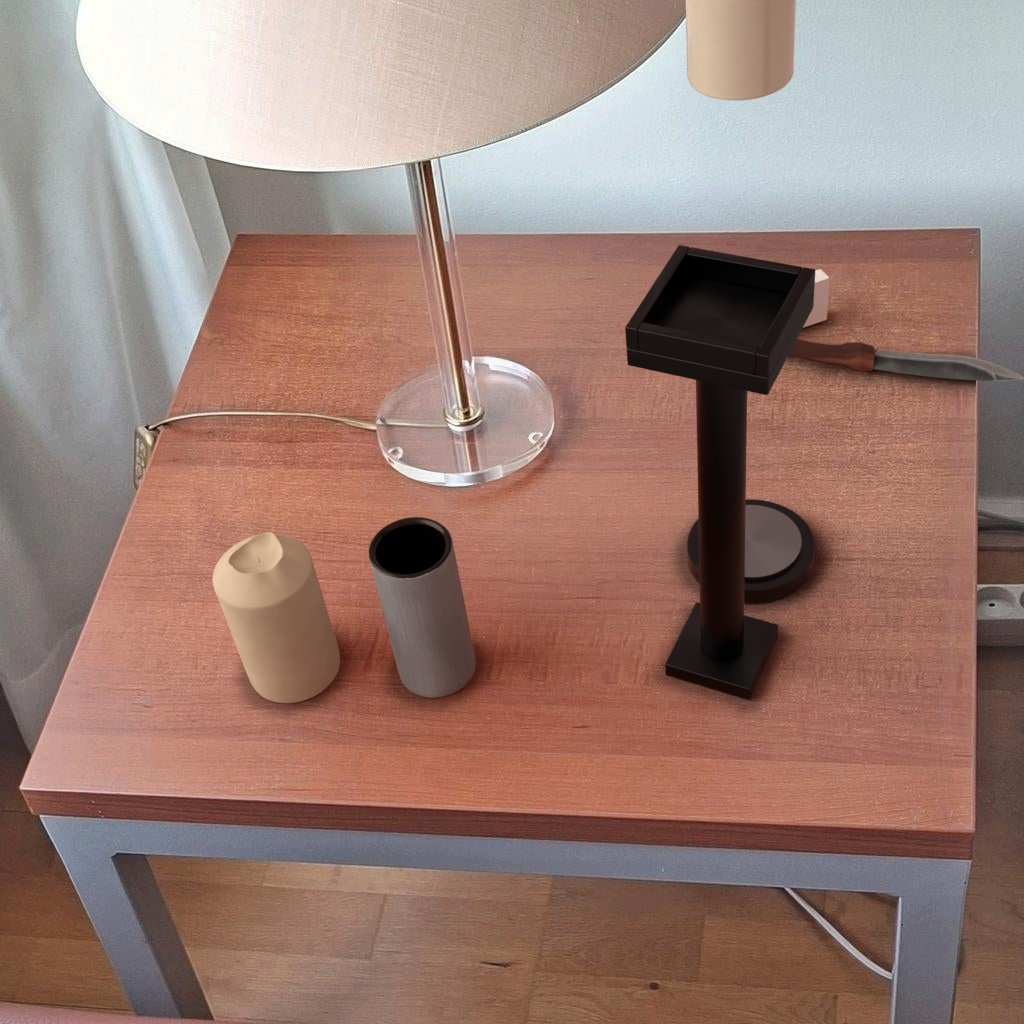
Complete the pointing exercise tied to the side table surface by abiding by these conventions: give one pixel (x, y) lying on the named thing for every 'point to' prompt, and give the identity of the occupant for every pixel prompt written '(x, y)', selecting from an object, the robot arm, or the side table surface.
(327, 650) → the candle
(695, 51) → the spice jar
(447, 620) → the planter
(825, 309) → the eraser
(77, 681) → the side table surface
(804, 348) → the knife
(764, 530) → the plate
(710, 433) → the stand
